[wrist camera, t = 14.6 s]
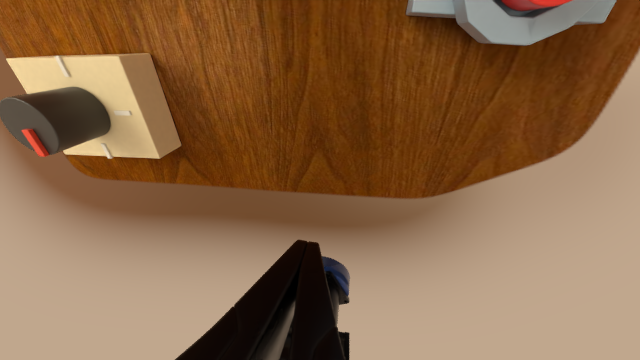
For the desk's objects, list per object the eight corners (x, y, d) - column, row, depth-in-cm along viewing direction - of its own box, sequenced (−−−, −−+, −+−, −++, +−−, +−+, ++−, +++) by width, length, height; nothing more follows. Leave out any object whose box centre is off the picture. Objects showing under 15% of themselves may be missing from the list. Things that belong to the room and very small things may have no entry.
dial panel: (150, 51, 19) (115, 54, 17) (182, 146, 23) (159, 160, 21) (48, 54, 21) (1, 57, 18) (95, 143, 25) (63, 156, 22)
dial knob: (52, 86, 19) (-23, 98, 15) (95, 86, 18) (28, 98, 15) (79, 135, 21) (19, 156, 17) (119, 136, 20) (65, 158, 17)
